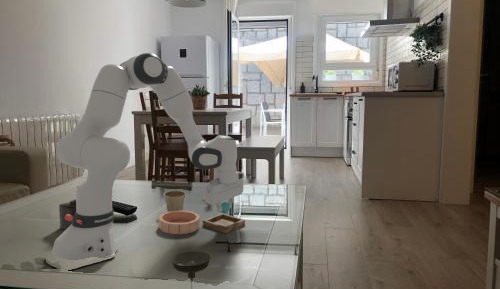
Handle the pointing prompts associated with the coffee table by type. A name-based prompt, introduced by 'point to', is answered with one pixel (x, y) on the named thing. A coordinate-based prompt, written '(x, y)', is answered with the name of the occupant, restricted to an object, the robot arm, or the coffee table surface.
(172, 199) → the flower pot
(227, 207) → the ball
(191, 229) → the bowl
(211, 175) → the hand bell
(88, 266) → the coffee table surface
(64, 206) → the dark grey box
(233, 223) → the tray
